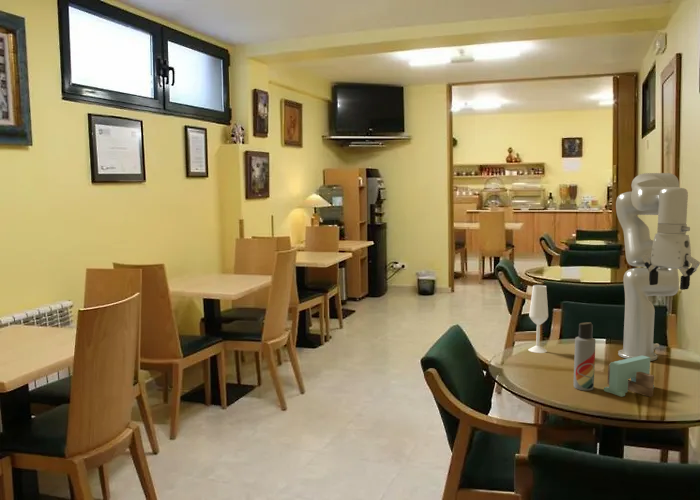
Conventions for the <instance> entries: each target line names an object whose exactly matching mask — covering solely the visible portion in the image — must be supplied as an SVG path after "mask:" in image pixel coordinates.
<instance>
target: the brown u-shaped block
mask: <svg viewBox="0 0 700 500" xmlns="http://www.w3.org/2000/svg"><path fill="white" fill-rule="evenodd" d="M609 378H610V363H609V364H608V365H607V384H608V385H609ZM654 381H655V376H654V374H651V373H650V374H647V373H643V372H636V382H634V381H631V379H628V391H630V392H633V393H636V394H641V395H643V396H646V397H653V396H654V388H653V385H654V386H655V384H654V383H655V382H654Z"/></svg>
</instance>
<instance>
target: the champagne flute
mask: <svg viewBox="0 0 700 500" xmlns="http://www.w3.org/2000/svg"><path fill="white" fill-rule="evenodd" d="M547 293H548V292H547V285H543V284H534V285H532V291H531V297H530V306H529V314H528V317H529V319H530V320H531V321H532V322H533V323H534V324H535V325H536V333H535V334H536V338H535V339H536V341H535V343H536V344H535V345H534V346H532V347H530V348H528V350H527V351H529V352H531V353H535V354H536V353H537V354H544V353H547V352H548V350H547V349H546V348H544V347H542V346H541V345H540V344H541V343H540V339H541V338H540V337H541V336H540V335H541V325H542V324H544V323H545V322H546V321H547V320H548V318H549V307H548V304H549V303H548V294H547Z"/></svg>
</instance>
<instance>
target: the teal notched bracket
mask: <svg viewBox="0 0 700 500" xmlns="http://www.w3.org/2000/svg"><path fill="white" fill-rule="evenodd" d="M609 364H610V378H609V384H608V386H605V387H603V391H604V392H606V393H610V394H611V395H612V394H613V395H615V396H618V397H625V396H626V393H628V391H629V390H628V380H631V381H634V382H636V372H643V373H647V374H650V375H651V361H650V357H647V356H643V355H642V356H638V357H633V358H629V359H626V358H623V359H619V360H615V361H610V363H609ZM654 388H655V384H654V385H653V389H654Z"/></svg>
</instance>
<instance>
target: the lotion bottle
mask: <svg viewBox="0 0 700 500" xmlns="http://www.w3.org/2000/svg"><path fill="white" fill-rule="evenodd" d="M593 328H594V325H593V324H592V322H591V321H589V322H587V321H585V322H580V323H578V336H575V340H574V359H573V360H574V361H573V362H574V363H573V388H574V389H577V390H579V391H588V392H589V391H593V390H594V387H595V386H594V385H595V365H596V361H595V360H596V339H595V338H593Z"/></svg>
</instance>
